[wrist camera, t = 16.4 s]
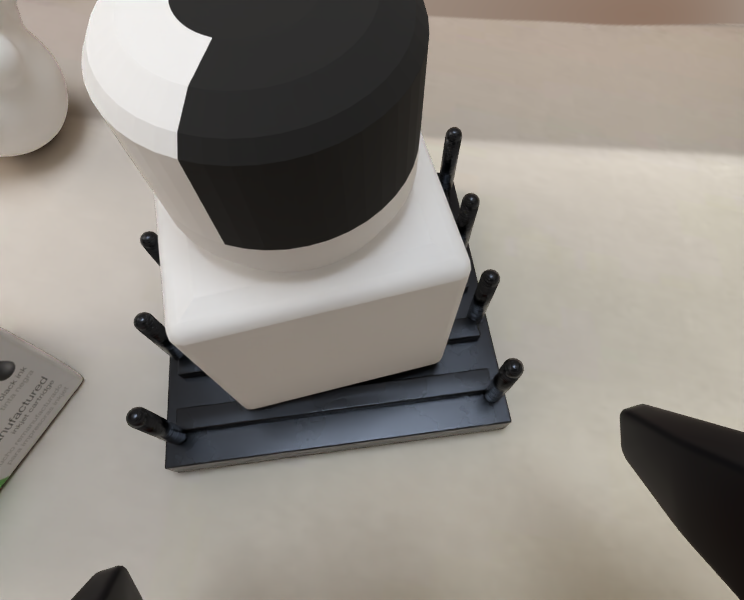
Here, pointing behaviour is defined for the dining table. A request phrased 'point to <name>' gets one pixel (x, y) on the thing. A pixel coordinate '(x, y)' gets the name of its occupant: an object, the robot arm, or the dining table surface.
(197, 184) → the medicine bottle
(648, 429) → the robot arm
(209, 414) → the dish rack
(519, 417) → the dining table surface
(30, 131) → the figurine
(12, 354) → the ink box
